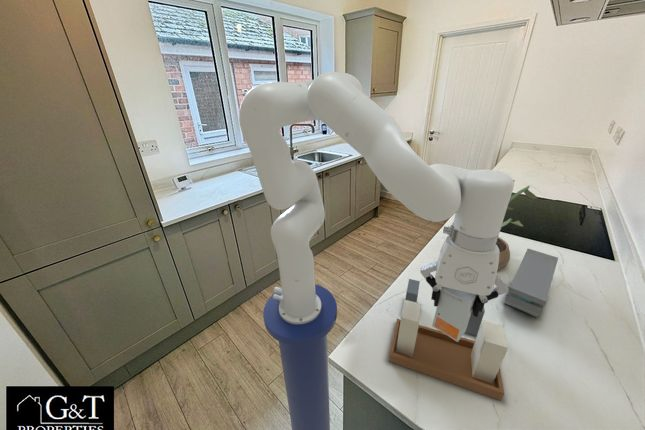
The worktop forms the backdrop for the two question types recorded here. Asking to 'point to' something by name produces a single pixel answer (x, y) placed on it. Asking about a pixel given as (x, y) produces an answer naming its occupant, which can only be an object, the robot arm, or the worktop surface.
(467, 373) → the tray
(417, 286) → the grey carton
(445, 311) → the cosmetic box
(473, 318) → the grey carton
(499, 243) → the potted plant
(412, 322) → the cream box left
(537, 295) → the grey rectangular box
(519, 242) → the worktop surface
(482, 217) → the robot arm
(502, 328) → the cream box right
